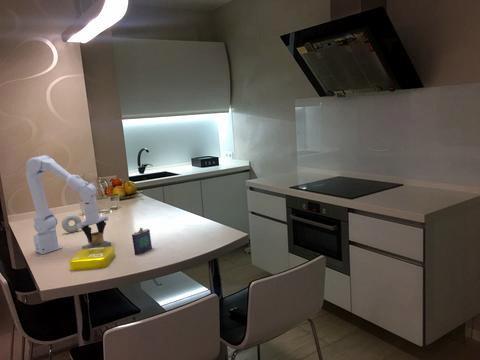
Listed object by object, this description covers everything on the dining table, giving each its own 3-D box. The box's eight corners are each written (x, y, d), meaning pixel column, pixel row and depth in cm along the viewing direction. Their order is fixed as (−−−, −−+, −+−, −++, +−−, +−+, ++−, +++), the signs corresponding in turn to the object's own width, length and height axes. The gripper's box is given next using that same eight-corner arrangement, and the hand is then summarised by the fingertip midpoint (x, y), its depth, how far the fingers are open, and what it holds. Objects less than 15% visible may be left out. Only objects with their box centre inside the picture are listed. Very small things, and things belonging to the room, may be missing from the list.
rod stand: (91, 252, 183) (89, 239, 182) (82, 249, 188) (80, 237, 187) (111, 245, 190) (109, 233, 189) (101, 242, 195) (100, 231, 194)
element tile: (116, 255, 177) (115, 244, 177) (106, 268, 163) (104, 257, 162) (82, 258, 177) (80, 247, 177) (69, 272, 163) (67, 260, 162)
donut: (63, 235, 214) (60, 216, 212) (62, 233, 216) (59, 215, 215) (83, 230, 219) (80, 212, 217) (82, 229, 221) (79, 211, 220)
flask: (149, 247, 183) (146, 224, 181) (154, 248, 181) (151, 225, 179) (133, 254, 176) (129, 230, 174) (137, 255, 174) (134, 231, 172)
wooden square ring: (94, 244, 185) (92, 236, 184) (88, 243, 188) (87, 234, 188) (103, 241, 189) (102, 233, 188) (98, 239, 192) (96, 231, 191)
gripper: (80, 216, 178) (85, 245, 180) (110, 207, 188) (114, 236, 191) (72, 214, 182) (77, 243, 185) (102, 206, 193) (106, 233, 196)
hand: (95, 239), depth 188 cm, fingers closed on wooden square ring, 5 cm apart
